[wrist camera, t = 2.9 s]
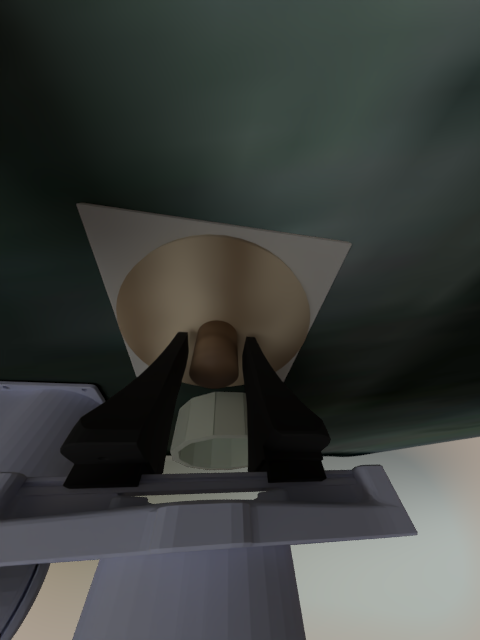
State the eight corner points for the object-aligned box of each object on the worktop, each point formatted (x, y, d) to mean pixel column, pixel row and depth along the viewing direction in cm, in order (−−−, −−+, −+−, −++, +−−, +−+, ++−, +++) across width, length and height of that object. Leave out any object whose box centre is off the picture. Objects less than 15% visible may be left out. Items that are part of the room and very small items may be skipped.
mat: (139, 375, 18) (137, 380, 18) (82, 202, 9) (76, 203, 9) (280, 381, 20) (281, 385, 20) (347, 241, 11) (351, 243, 11)
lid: (142, 377, 18) (122, 423, 14) (90, 217, 9) (10, 237, 6) (279, 382, 19) (289, 425, 16) (339, 250, 11) (389, 281, 8)
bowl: (182, 433, 28) (175, 470, 24) (176, 390, 20) (165, 434, 17) (259, 433, 29) (263, 468, 25) (279, 393, 22) (288, 435, 18)
